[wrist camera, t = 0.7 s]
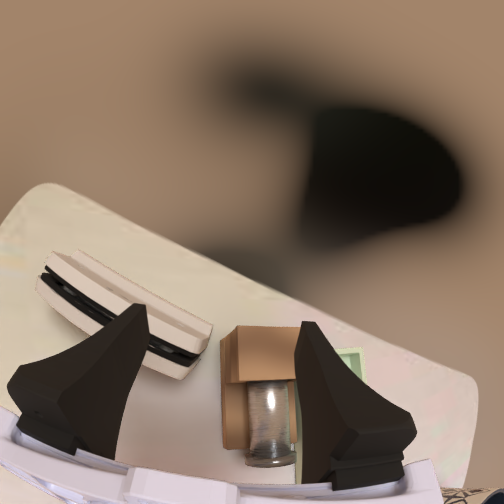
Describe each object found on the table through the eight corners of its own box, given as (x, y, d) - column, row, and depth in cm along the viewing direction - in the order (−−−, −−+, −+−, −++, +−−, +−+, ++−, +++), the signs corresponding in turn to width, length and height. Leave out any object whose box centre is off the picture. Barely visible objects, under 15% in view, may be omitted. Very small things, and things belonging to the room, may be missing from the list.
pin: (284, 455, 24) (306, 462, 21) (239, 460, 23) (254, 469, 19) (278, 354, 29) (298, 345, 26) (234, 354, 28) (249, 345, 24)
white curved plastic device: (215, 326, 30) (223, 336, 20) (195, 366, 29) (194, 393, 19) (81, 250, 29) (38, 227, 19) (62, 288, 28) (13, 279, 18)
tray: (358, 470, 26) (371, 472, 24) (295, 486, 24) (306, 491, 22) (350, 351, 33) (362, 346, 31) (288, 354, 31) (298, 350, 29)
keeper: (290, 440, 26) (323, 447, 21) (223, 447, 24) (242, 459, 19) (284, 342, 31) (313, 327, 26) (220, 340, 29) (237, 325, 24)
